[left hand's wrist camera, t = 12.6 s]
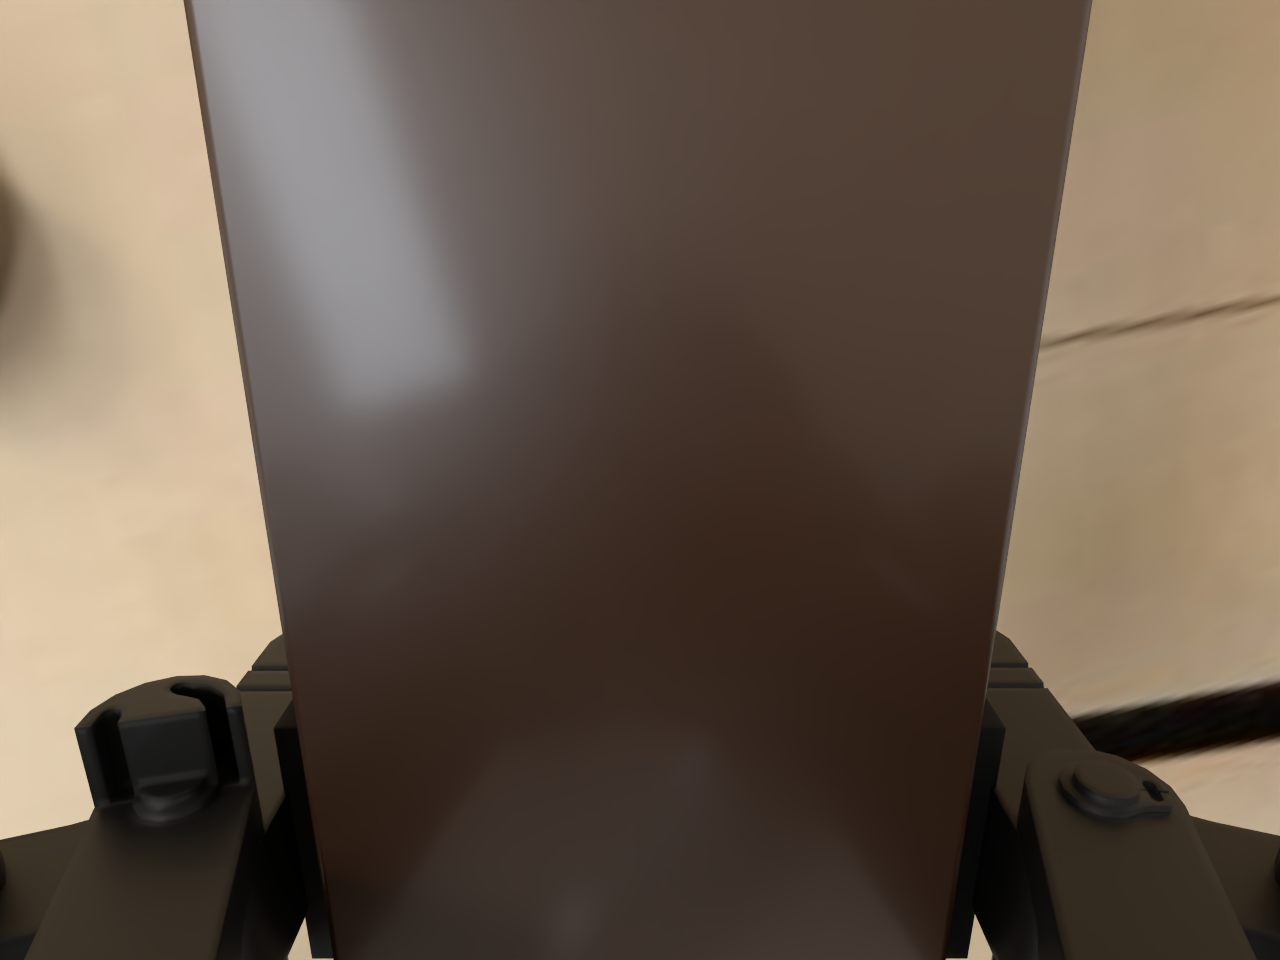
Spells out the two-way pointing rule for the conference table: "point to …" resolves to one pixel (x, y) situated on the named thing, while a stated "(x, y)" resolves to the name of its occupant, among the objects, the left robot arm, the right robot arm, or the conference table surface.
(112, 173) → the conference table surface
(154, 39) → the conference table surface
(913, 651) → the plank
